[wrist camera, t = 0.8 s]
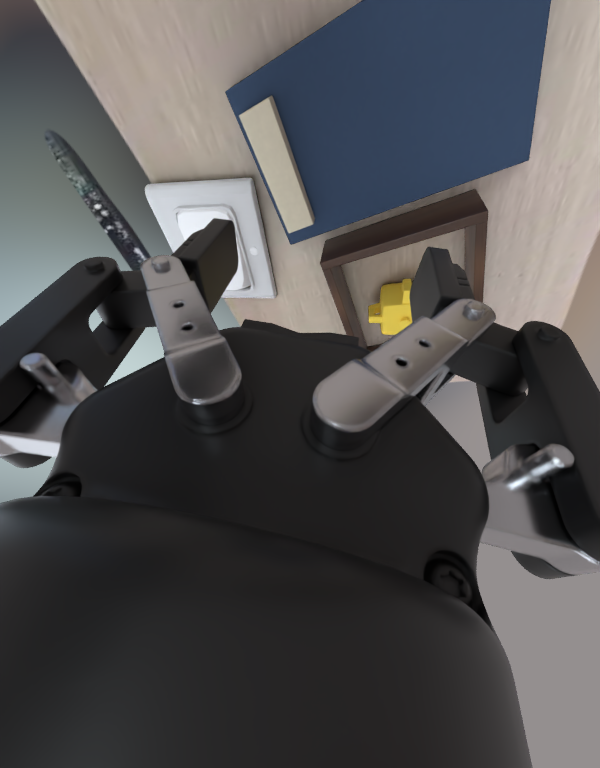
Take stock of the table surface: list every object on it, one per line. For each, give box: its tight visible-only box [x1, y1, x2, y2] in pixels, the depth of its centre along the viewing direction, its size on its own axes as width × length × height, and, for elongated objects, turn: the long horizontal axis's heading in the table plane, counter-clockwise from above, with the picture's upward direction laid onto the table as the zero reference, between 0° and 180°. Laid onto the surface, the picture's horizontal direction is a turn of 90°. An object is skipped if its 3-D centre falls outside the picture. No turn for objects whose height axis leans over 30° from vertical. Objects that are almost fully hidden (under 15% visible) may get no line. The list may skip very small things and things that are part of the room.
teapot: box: [368, 279, 413, 335], centre depth 31 cm, size 8×6×5 cm
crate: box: [320, 189, 488, 352], centre depth 31 cm, size 17×14×4 cm
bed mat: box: [225, 0, 551, 245], centre depth 21 cm, size 12×20×2 cm, turn 113°
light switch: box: [145, 178, 277, 298], centre depth 31 cm, size 11×4×13 cm
